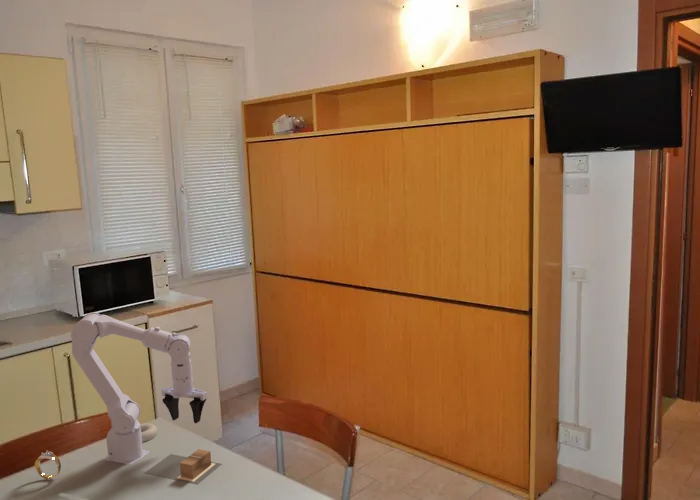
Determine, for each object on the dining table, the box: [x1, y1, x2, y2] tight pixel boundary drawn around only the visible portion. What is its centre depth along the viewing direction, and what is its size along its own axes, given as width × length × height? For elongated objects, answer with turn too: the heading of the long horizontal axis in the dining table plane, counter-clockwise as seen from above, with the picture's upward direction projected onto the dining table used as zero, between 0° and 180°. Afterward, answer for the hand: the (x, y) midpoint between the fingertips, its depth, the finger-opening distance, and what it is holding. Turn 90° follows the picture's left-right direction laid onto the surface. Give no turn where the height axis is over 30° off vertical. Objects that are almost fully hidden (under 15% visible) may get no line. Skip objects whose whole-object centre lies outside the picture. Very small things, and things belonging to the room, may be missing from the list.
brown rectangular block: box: [180, 448, 212, 479], centre depth 156 cm, size 8×4×4 cm, turn 157°
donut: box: [140, 422, 158, 443], centre depth 179 cm, size 10×4×10 cm
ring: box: [34, 449, 62, 481], centre depth 156 cm, size 7×3×8 cm, turn 76°
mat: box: [144, 453, 223, 485], centre depth 158 cm, size 18×11×1 cm, turn 67°
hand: (186, 420), depth 168 cm, fingers open, 7 cm apart
